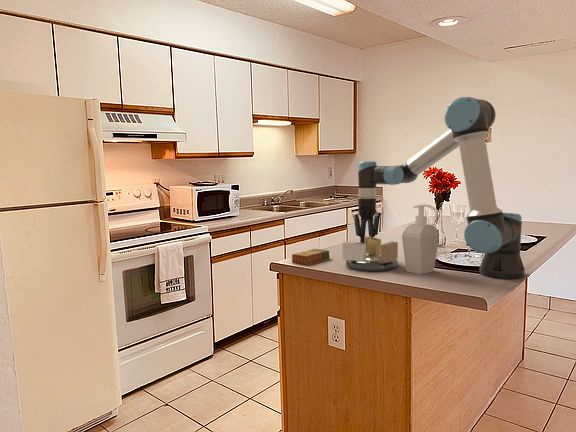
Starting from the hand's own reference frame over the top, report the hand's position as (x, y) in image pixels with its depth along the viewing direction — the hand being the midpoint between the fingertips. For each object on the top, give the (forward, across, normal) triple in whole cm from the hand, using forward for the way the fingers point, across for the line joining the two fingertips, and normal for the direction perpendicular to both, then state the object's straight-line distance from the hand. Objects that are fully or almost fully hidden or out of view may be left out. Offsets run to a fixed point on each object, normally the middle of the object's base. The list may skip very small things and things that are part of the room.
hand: (366, 251), depth 193 cm
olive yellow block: (+1, 0, +3) cm, 4 cm away
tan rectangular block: (+1, 0, +17) cm, 17 cm away
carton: (+4, +22, -9) cm, 25 cm away
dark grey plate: (+3, +4, +10) cm, 11 cm away
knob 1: (+1, +12, +10) cm, 16 cm away
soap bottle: (+4, -8, +27) cm, 28 cm away
